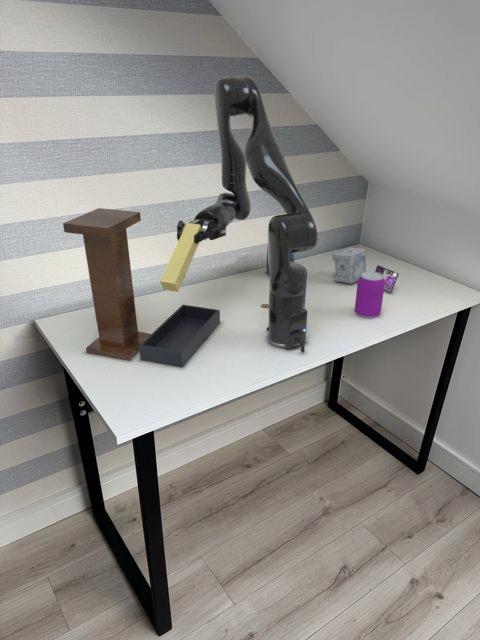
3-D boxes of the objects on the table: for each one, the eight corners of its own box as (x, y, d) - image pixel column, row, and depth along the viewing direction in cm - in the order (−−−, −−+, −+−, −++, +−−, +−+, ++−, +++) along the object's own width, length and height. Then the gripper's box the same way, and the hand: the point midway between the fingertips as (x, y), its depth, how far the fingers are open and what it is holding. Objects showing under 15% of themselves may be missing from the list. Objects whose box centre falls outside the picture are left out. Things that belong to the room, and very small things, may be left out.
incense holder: (345, 273, 180) (348, 244, 174) (366, 279, 175) (369, 249, 170) (329, 280, 173) (332, 250, 168) (350, 287, 168) (354, 256, 163)
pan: (183, 317, 146) (182, 304, 144) (220, 323, 144) (219, 309, 142) (140, 360, 125) (138, 345, 123) (182, 367, 123) (181, 352, 121)
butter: (189, 232, 132) (186, 223, 130) (203, 233, 131) (200, 224, 129) (163, 289, 123) (159, 281, 121) (178, 291, 123) (174, 283, 120)
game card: (376, 264, 168) (396, 273, 162) (385, 266, 171) (406, 275, 165) (368, 284, 170) (389, 293, 164) (378, 285, 173) (398, 294, 167)
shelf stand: (114, 330, 139) (96, 207, 122) (154, 337, 136) (142, 212, 120) (84, 354, 127) (60, 223, 111) (127, 362, 124) (109, 228, 108)
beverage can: (377, 321, 146) (382, 282, 141) (351, 316, 149) (355, 277, 143) (383, 311, 153) (388, 273, 147) (357, 306, 155) (362, 268, 149)
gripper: (188, 204, 141) (160, 220, 127) (237, 209, 138) (213, 226, 123) (189, 231, 145) (162, 250, 131) (237, 236, 141) (214, 256, 127)
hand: (187, 238), depth 127 cm, fingers closed on butter, 4 cm apart
